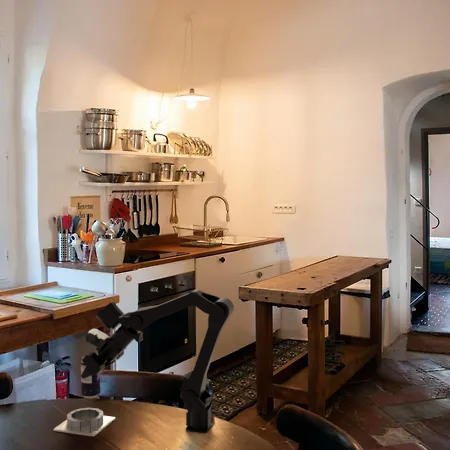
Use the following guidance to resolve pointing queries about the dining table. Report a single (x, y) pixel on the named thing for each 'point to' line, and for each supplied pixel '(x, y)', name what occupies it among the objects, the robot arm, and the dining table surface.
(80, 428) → the collar seat
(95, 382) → the beverage can
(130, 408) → the dining table surface
